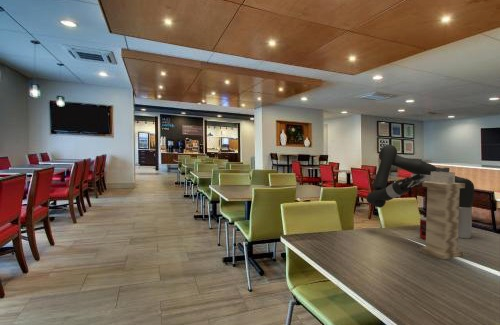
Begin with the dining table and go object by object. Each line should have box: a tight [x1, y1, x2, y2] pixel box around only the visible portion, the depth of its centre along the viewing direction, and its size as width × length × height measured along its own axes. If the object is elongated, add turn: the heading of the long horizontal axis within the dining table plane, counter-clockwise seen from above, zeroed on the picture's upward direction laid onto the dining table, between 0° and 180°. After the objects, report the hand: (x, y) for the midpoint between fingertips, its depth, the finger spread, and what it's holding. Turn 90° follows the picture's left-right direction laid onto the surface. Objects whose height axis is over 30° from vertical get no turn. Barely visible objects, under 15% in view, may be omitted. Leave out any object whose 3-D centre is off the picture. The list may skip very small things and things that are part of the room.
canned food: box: [419, 216, 427, 241], centre depth 148 cm, size 8×8×11 cm
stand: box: [419, 181, 465, 261], centre depth 125 cm, size 14×10×33 cm
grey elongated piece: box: [410, 166, 456, 184], centre depth 130 cm, size 6×18×7 cm, turn 22°
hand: (424, 175), depth 133 cm, fingers open, 5 cm apart
